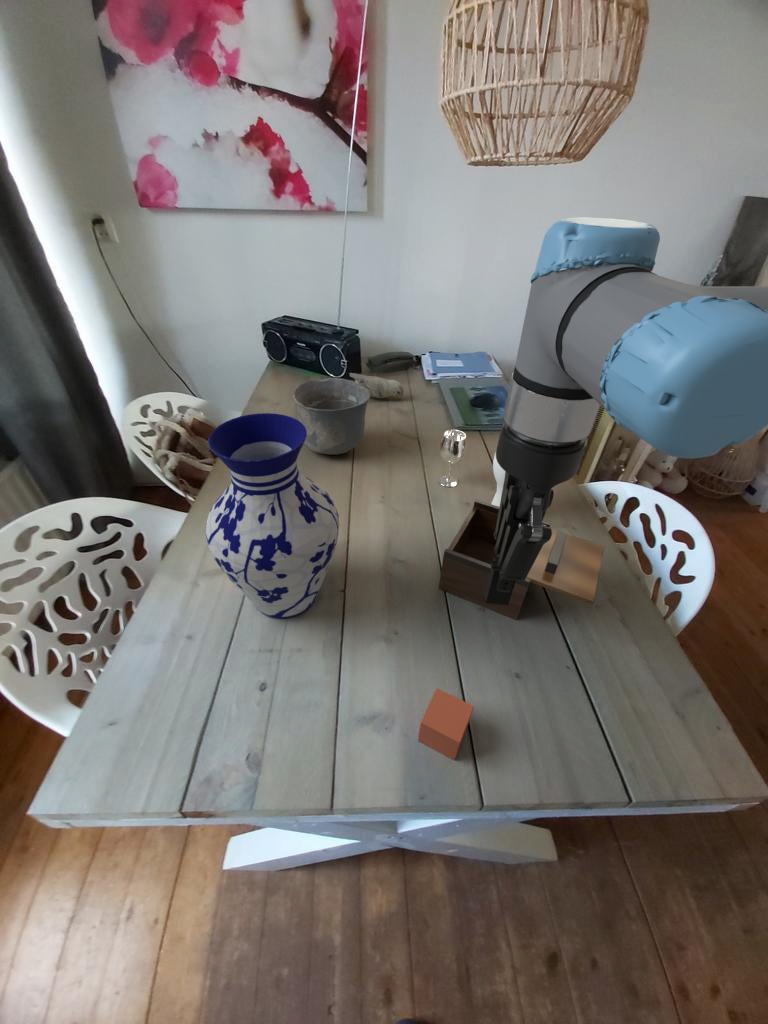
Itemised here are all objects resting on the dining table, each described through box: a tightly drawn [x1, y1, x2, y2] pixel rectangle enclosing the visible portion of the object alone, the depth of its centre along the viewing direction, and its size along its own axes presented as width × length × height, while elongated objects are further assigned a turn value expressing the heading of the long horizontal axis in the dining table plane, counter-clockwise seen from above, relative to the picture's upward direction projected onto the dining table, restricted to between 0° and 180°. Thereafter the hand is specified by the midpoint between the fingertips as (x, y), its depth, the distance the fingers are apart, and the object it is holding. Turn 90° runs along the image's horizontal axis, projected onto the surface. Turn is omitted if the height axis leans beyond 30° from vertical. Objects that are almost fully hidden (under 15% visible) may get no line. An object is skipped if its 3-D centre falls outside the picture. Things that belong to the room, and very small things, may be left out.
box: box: [438, 499, 552, 621], centre depth 76 cm, size 16×14×9 cm
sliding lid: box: [526, 528, 605, 606], centre depth 69 cm, size 13×14×3 cm
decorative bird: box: [349, 372, 404, 401], centre depth 131 cm, size 5×16×8 cm, turn 84°
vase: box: [205, 412, 340, 619], centre depth 65 cm, size 19×19×30 cm
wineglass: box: [438, 429, 468, 488], centre depth 96 cm, size 6×6×12 cm
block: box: [417, 687, 475, 761], centre depth 55 cm, size 5×5×5 cm
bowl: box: [292, 377, 371, 456], centre depth 105 cm, size 18×18×15 cm
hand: (496, 599), depth 54 cm, fingers closed
